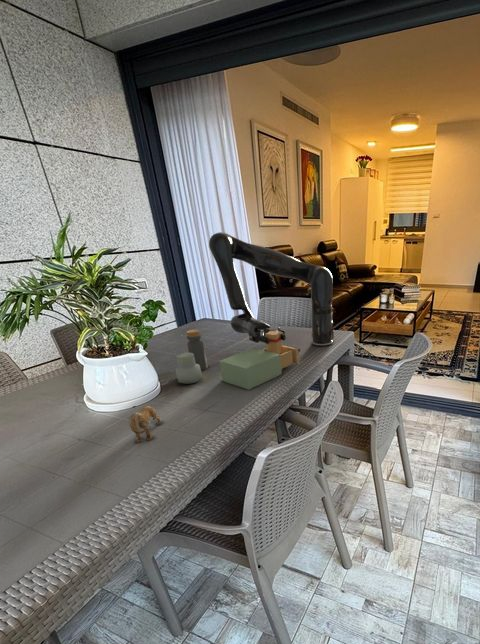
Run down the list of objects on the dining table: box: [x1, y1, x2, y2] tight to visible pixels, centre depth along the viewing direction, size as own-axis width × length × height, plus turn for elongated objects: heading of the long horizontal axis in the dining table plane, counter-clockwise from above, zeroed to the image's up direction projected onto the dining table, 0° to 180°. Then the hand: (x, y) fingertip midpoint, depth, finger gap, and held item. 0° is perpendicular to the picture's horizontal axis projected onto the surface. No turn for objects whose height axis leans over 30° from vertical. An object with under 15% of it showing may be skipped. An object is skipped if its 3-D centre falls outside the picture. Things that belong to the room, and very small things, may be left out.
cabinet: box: [219, 347, 283, 391], centre depth 128 cm, size 17×14×8 cm
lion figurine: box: [128, 405, 162, 443], centre depth 95 cm, size 15×5×9 cm, turn 14°
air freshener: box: [175, 351, 203, 385], centre depth 127 cm, size 11×8×10 cm
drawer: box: [262, 344, 301, 370], centre depth 138 cm, size 20×13×6 cm, turn 143°
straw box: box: [265, 331, 283, 354], centre depth 134 cm, size 4×4×8 cm
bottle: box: [185, 329, 209, 371], centre depth 137 cm, size 6×6×15 cm
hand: (276, 339), depth 131 cm, fingers closed on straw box, 6 cm apart
